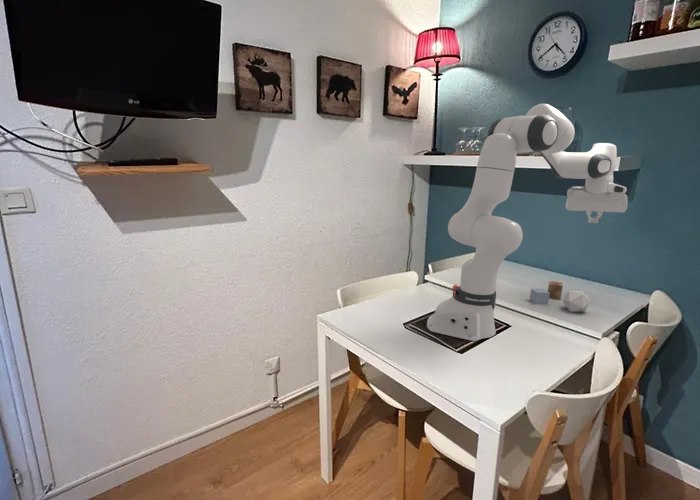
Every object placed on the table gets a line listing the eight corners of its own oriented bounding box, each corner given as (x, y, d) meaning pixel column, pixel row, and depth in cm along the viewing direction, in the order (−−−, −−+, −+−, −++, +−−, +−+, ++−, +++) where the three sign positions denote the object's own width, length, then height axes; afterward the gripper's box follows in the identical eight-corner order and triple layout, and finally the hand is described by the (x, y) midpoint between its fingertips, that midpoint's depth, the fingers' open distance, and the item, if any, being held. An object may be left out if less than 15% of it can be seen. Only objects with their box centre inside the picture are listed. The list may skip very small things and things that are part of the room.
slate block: (535, 304, 156) (537, 292, 154) (529, 300, 160) (531, 288, 159) (548, 304, 156) (549, 292, 155) (541, 300, 161) (543, 288, 160)
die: (587, 318, 144) (599, 296, 145) (566, 305, 145) (578, 283, 146) (574, 317, 152) (585, 296, 154) (554, 305, 153) (566, 284, 154)
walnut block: (547, 297, 163) (548, 284, 162) (547, 294, 168) (549, 280, 166) (560, 299, 161) (562, 286, 160) (560, 296, 166) (562, 282, 164)
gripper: (569, 187, 149) (564, 222, 153) (632, 188, 143) (625, 225, 147) (566, 185, 155) (561, 220, 159) (626, 186, 149) (620, 222, 153)
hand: (592, 222), depth 153 cm, fingers closed
